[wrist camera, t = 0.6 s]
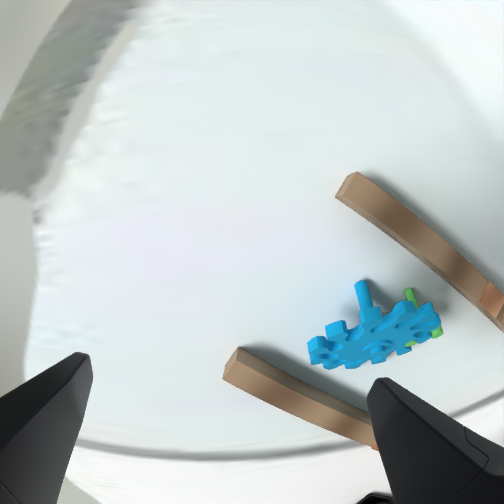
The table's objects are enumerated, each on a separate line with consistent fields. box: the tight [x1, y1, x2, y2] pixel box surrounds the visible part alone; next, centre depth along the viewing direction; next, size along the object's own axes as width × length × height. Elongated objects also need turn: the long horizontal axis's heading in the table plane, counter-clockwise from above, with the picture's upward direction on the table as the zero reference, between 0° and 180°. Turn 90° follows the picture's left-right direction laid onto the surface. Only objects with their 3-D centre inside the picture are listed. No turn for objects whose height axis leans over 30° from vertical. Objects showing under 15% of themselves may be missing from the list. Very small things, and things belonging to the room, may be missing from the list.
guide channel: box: [222, 172, 504, 451], centre depth 23 cm, size 24×18×3 cm
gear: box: [307, 281, 443, 370], centre depth 22 cm, size 11×6×10 cm
